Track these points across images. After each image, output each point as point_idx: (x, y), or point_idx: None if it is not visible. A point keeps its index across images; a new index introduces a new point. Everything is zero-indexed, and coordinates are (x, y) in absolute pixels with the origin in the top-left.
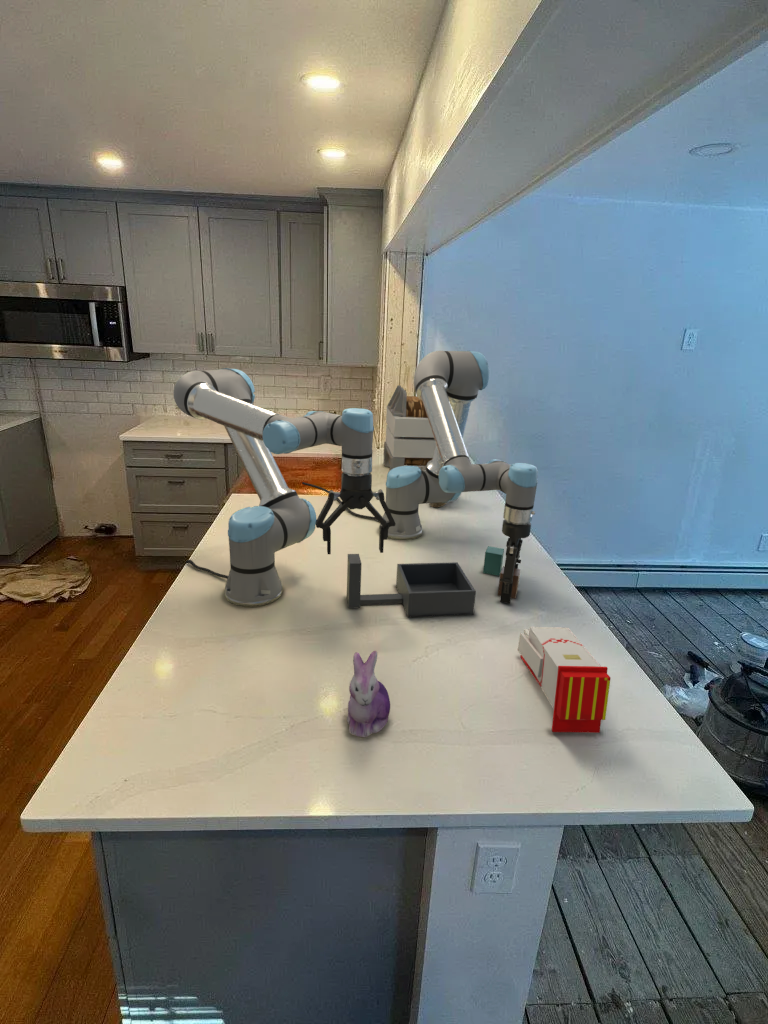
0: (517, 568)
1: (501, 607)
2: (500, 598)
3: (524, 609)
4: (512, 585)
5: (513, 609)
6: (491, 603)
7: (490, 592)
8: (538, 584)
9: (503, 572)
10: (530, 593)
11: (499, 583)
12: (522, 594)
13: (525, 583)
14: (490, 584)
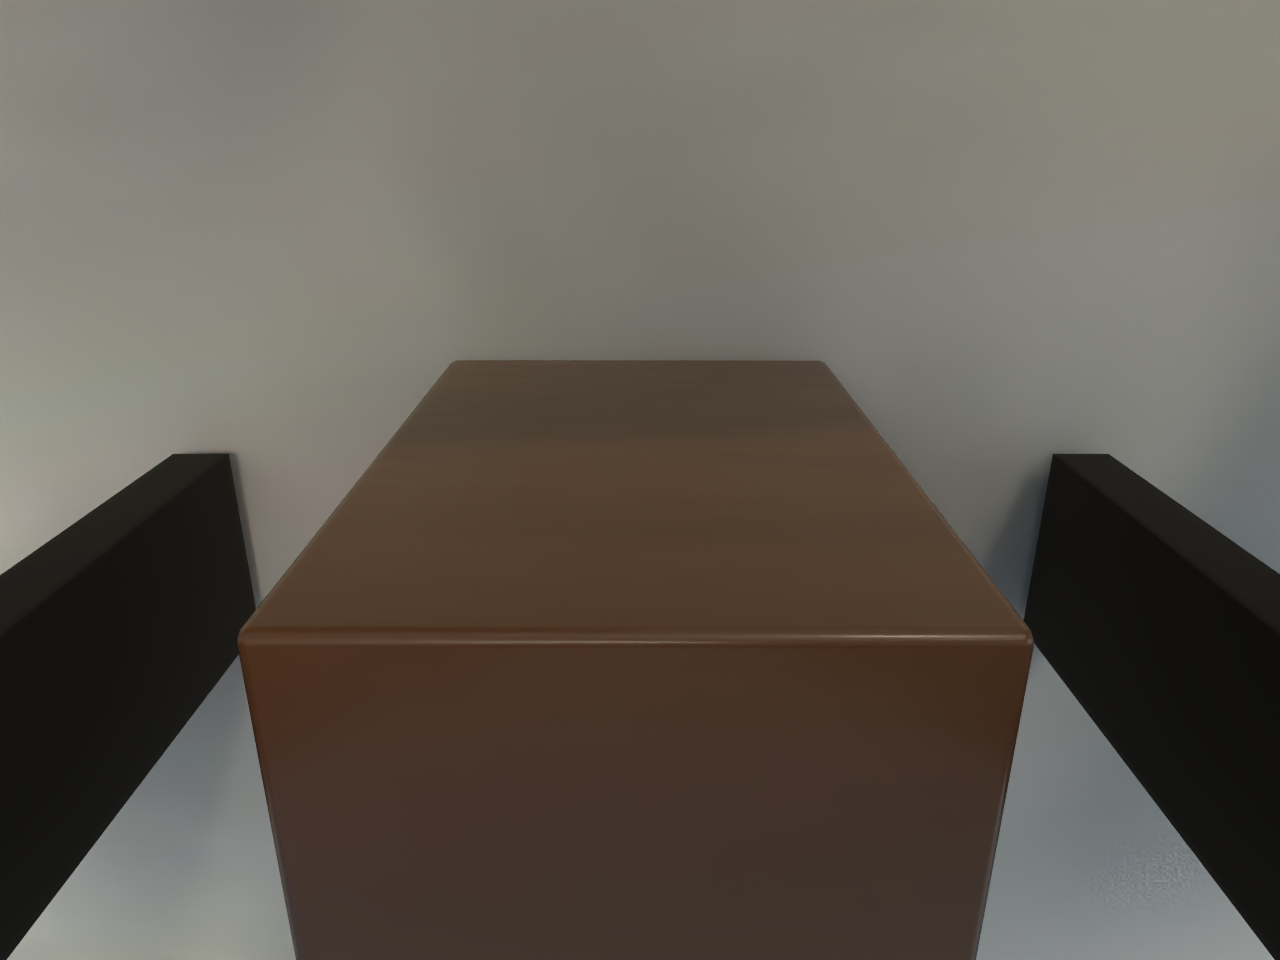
0: (1257, 929)
1: (16, 499)
2: (134, 482)
3: (193, 831)
4: (19, 920)
5: None
6: (47, 295)
7: (530, 189)
8: (1188, 932)
9: (369, 740)
10: None
11: (376, 470)
12: None
13: None
14: (941, 118)
